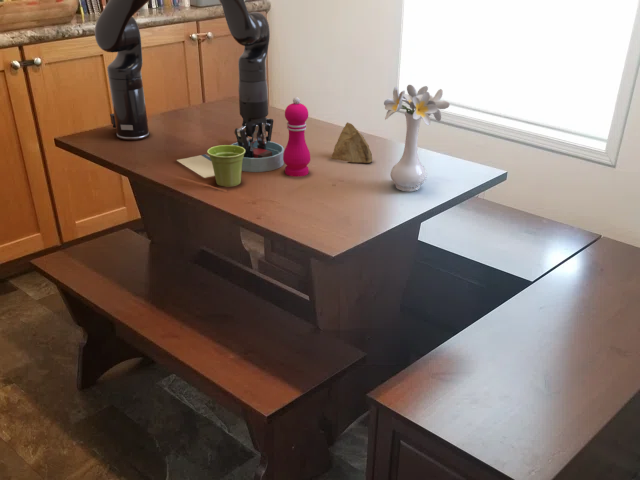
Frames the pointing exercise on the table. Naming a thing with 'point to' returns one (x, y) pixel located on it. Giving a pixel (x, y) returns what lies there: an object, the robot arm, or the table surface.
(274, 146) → the pan
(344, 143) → the rock
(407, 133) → the flower vase
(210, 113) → the table surface
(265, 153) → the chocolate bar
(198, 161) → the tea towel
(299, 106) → the pepper mill
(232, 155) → the plant pot
